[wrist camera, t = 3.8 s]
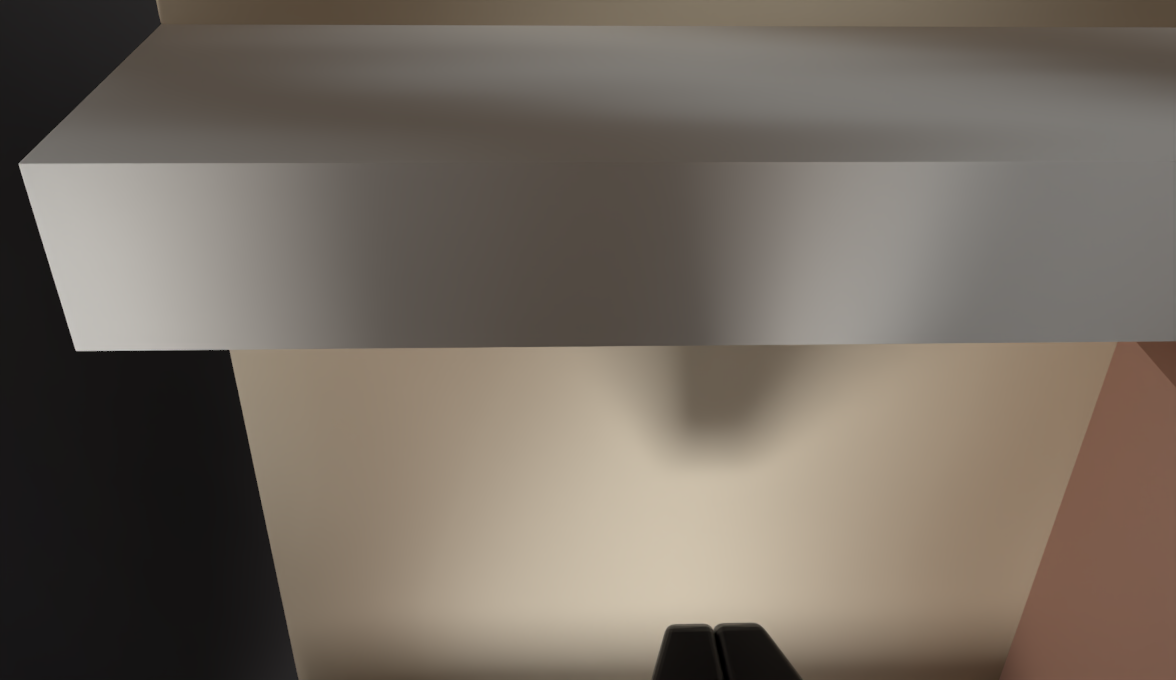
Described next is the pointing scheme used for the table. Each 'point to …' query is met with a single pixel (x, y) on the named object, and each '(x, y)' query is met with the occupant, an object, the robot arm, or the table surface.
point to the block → (1112, 539)
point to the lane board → (636, 307)
